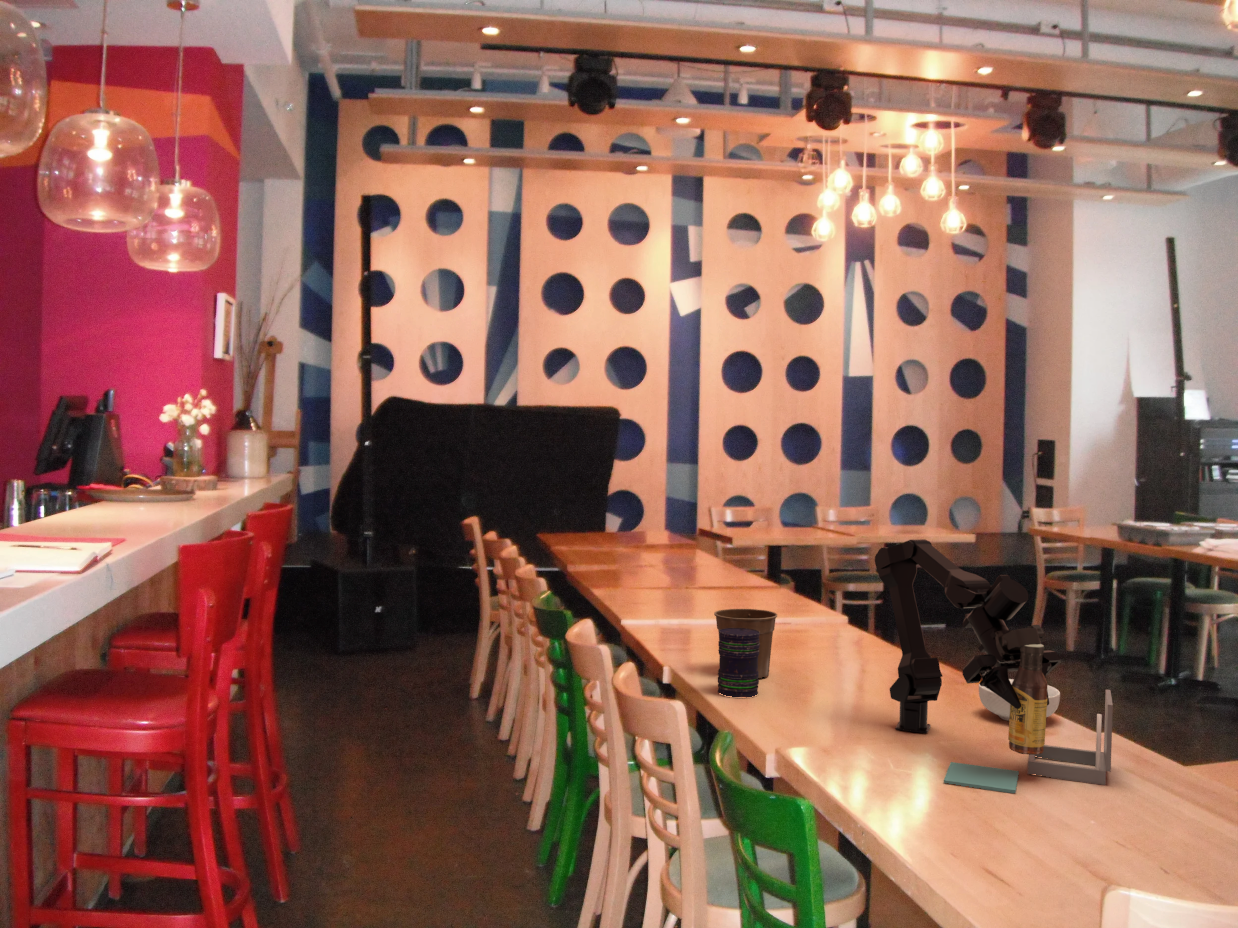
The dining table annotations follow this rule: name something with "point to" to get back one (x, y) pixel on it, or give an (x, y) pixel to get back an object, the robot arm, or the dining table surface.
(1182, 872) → the dining table surface
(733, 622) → the plant pot
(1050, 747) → the open lid tray
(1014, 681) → the sauce bottle
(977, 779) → the rubber pad
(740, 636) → the storage jar
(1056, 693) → the cereal bowl
